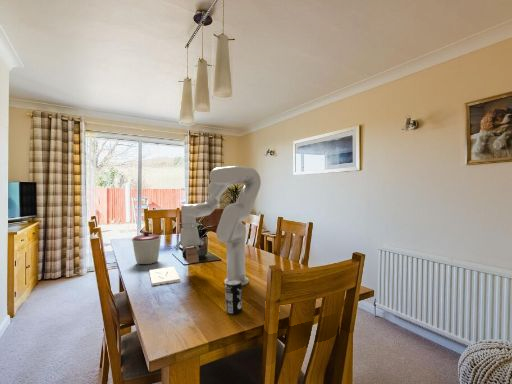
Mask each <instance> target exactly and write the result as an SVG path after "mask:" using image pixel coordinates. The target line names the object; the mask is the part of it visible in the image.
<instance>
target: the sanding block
mask: <svg viewBox="0 0 512 384" xmlns="http://www.w3.org/2000/svg"><path fill="white" fill-rule="evenodd" d="M185 252H186V259H184V258H183V261H184V262H186V263H187V264H192V263H197V262H198V263H199V261H200V258H199V256H200V254H199V255H198V249H197V248H196V247H194V246H190V247H186V249H185Z"/></svg>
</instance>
